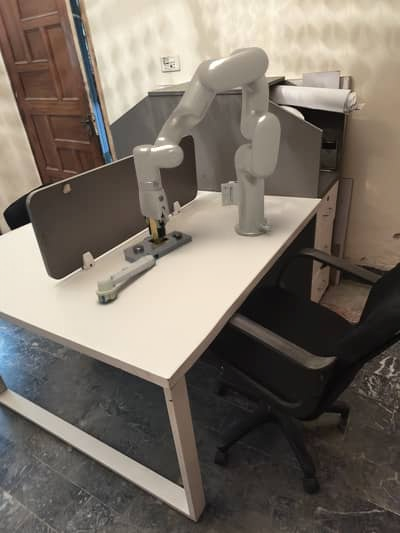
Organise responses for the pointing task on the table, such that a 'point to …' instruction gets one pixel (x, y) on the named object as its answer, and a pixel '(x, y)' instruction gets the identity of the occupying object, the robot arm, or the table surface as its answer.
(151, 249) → the plate
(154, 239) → the brass pin
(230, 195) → the hinge
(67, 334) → the table surface
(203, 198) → the table surface
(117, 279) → the toothbrush head
